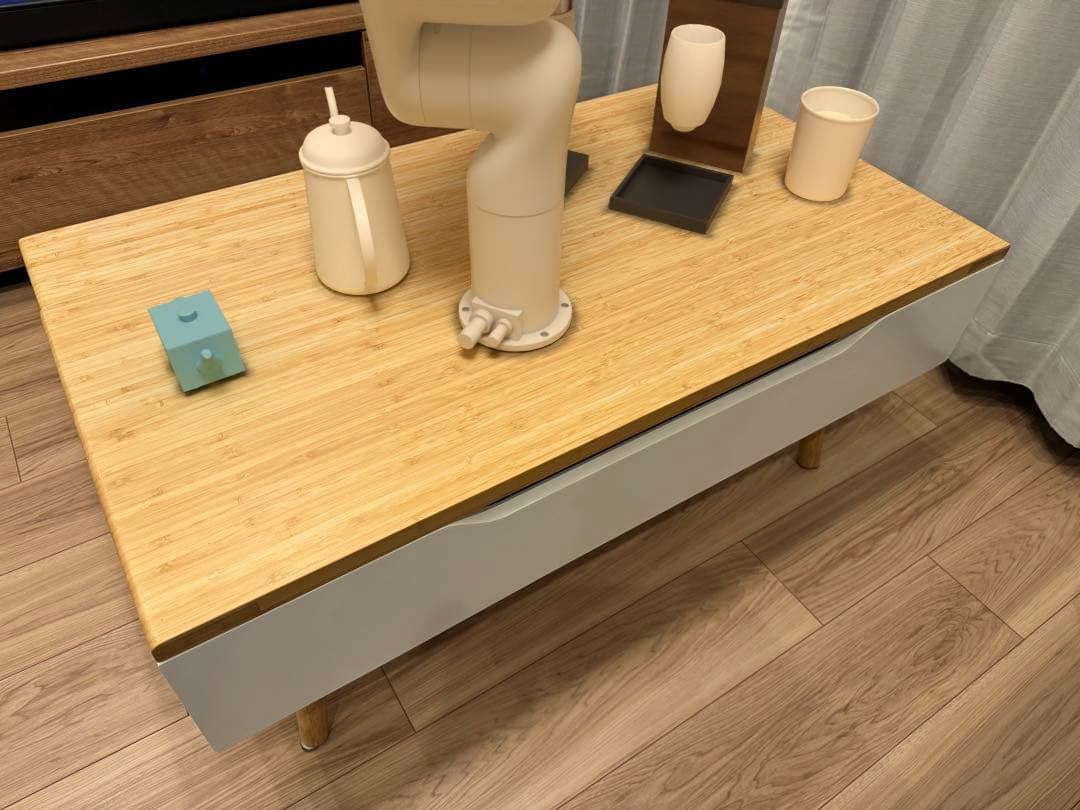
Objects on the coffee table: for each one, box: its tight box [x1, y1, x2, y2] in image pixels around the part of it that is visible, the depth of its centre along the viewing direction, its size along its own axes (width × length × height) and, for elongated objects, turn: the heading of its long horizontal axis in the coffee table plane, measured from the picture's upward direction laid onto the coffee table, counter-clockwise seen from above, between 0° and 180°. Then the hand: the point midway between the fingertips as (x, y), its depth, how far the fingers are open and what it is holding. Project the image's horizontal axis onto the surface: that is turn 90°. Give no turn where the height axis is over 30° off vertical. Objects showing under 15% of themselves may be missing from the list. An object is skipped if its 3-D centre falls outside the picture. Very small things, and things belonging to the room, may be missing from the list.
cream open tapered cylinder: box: [784, 85, 880, 202], centre depth 104 cm, size 10×10×12 cm
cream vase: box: [661, 24, 725, 132], centre depth 97 cm, size 7×7×21 cm
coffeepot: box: [298, 86, 411, 296], centre depth 86 cm, size 11×25×19 cm, turn 17°
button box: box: [564, 149, 590, 198], centre depth 106 cm, size 12×10×4 cm
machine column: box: [648, 0, 790, 174], centre depth 106 cm, size 6×14×24 cm, turn 65°
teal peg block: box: [147, 289, 246, 393], centre depth 77 cm, size 12×6×8 cm, turn 33°
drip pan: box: [608, 153, 735, 235], centre depth 105 cm, size 13×13×2 cm
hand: (539, 142), depth 104 cm, fingers closed
